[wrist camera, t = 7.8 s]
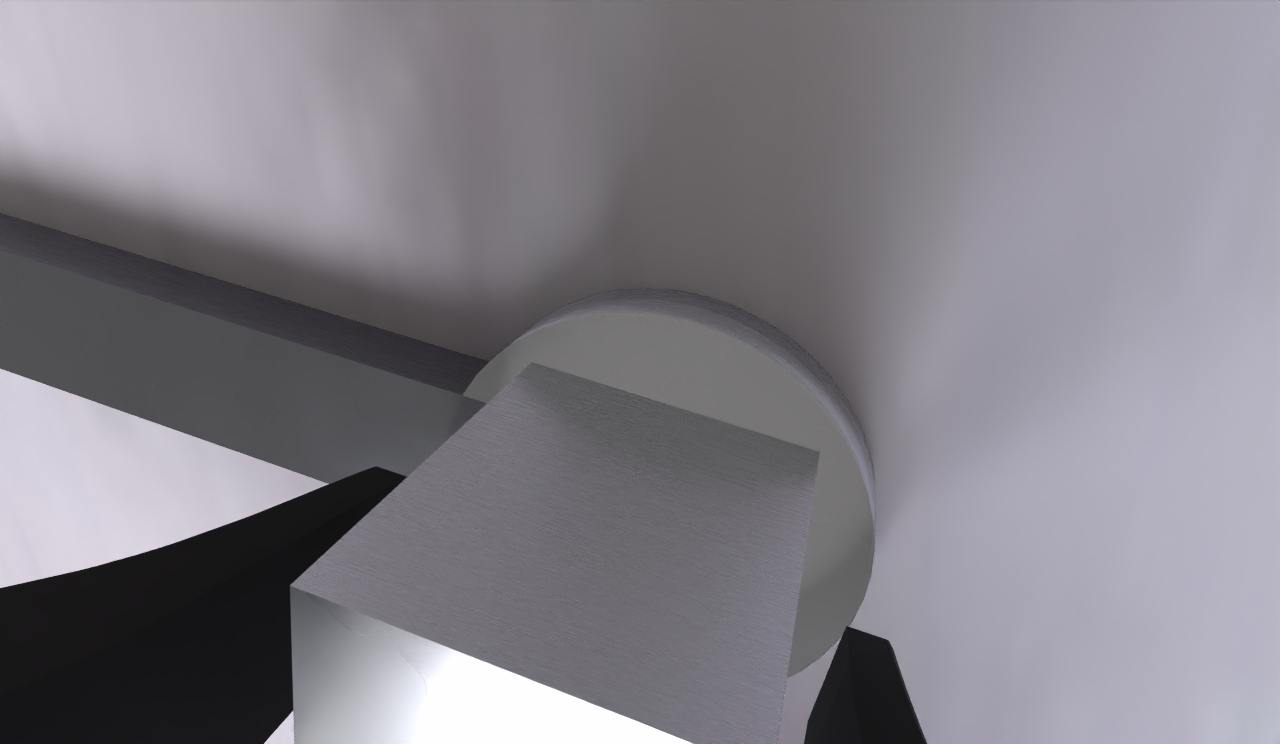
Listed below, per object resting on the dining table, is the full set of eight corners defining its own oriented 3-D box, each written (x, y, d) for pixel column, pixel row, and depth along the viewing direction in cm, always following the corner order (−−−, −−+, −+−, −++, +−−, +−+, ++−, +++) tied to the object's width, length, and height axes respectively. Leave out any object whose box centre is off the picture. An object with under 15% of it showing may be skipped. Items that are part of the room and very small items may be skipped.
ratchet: (806, 694, 16) (778, 943, 12) (17, 409, 20) (-231, 515, 15) (939, 358, 12) (972, 534, 8) (-55, 89, 16) (-404, 107, 12)
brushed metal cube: (742, 671, 14) (661, 1042, 9) (501, 581, 15) (298, 872, 10) (820, 451, 12) (772, 774, 7) (532, 362, 13) (289, 585, 8)
